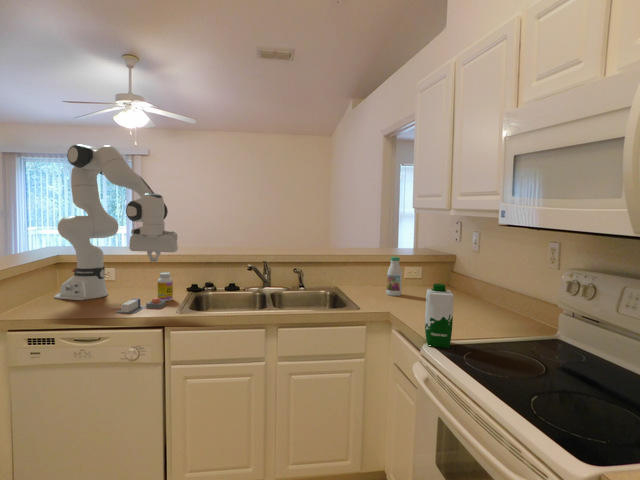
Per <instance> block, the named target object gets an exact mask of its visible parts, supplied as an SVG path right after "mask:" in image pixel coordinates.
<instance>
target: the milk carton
mask: <svg viewBox="0 0 640 480" xmlns="http://www.w3.org/2000/svg"><path fill="white" fill-rule="evenodd" d="M424 315H425V317H424V331H425V332H424V333H425V340H426V344H427V346H428V345H431V346H430V347H432V346H434V347H433V348H445V349H446V348H447V349H448V348H451V342H452V335H453V334H452V333H453V320H454V319H453V318H454V293H453V292H452V291H451V290H450V289H446V284H445V283H433V284H432V288H427V289H426V298H425V314H424Z"/></svg>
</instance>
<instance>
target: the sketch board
mask: <svg viewBox="0 0 640 480" xmlns="http://www.w3.org/2000/svg"><path fill="white" fill-rule="evenodd" d="M145 308H146V305H140V307H138V308H136V309H134V310H132V311H130V312H122V308H121V309H119V310H117V311H115V313H116V314H136V313H137V312H139V311H141V310H143V309H145Z"/></svg>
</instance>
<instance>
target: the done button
mask: <svg viewBox="0 0 640 480" xmlns="http://www.w3.org/2000/svg"><path fill="white" fill-rule="evenodd" d="M151 301H152V303H160V298H158V297H153V298H151Z"/></svg>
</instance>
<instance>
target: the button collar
mask: <svg viewBox="0 0 640 480" xmlns="http://www.w3.org/2000/svg"><path fill="white" fill-rule="evenodd" d="M166 305H167V301H161V300H160V303H152V300H150V301H148V302H146V305H145V306H146V307H145V308H146V309H161V308H163V307H165V306H166Z"/></svg>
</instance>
